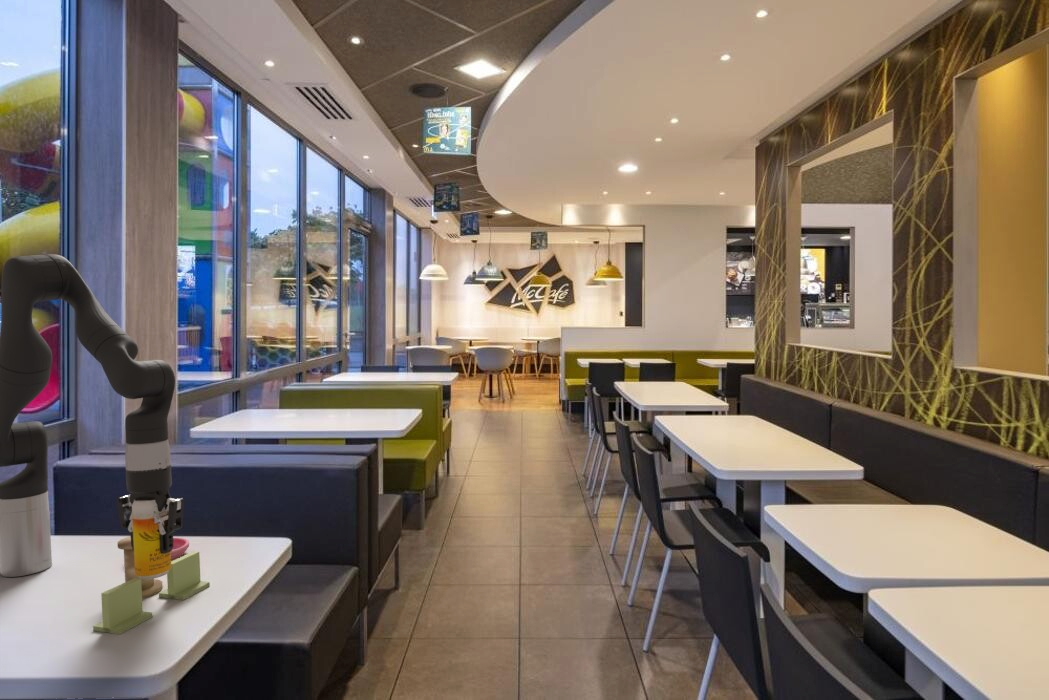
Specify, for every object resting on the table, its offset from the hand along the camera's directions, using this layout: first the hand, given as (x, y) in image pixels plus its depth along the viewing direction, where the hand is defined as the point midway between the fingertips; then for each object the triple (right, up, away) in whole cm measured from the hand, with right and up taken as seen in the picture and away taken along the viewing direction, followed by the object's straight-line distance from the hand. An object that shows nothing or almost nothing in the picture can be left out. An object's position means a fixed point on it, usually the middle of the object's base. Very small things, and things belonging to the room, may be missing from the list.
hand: (152, 550), depth 125 cm
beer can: (0, -5, 0) cm, 5 cm away
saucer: (-14, -10, +27) cm, 33 cm away
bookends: (0, -11, +1) cm, 11 cm away
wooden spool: (-7, -11, +8) cm, 15 cm away
